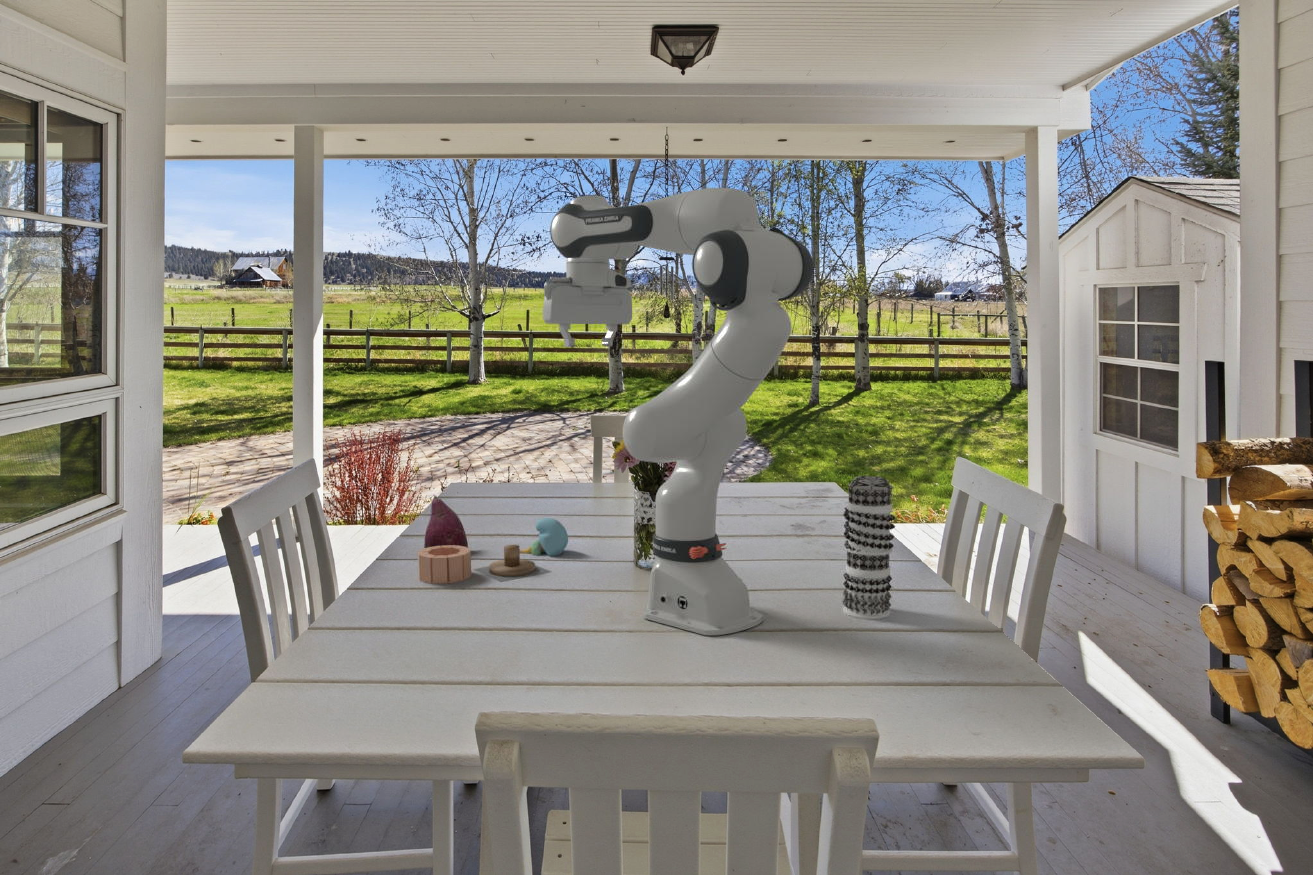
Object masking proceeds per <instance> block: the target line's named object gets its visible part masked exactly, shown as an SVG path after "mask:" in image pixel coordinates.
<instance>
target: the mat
mask: <svg viewBox="0 0 1313 875" xmlns="http://www.w3.org/2000/svg"><path fill="white" fill-rule="evenodd" d="M473 571H476V572H478V573H480V574H482V575H484V576H487V577H489V578H490V579H493V580H496V581H498V582H501V583H502V582H507V581H513V580H517V579H522V578H523V579H524V578H528V577H532V576H538V575H544V574H548V573H552V571H551V570H548V569H545V567H544V568H543V567H540V566H538V565H536V564H535V571H534V572H533V573H530V574H527V575H523V576H514V577H503V576H496V575H492V574H491V573H490V572H489V565H488V566H483V567H479V568H473Z"/></svg>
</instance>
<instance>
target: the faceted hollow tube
mask: <svg viewBox="0 0 1313 875" xmlns="http://www.w3.org/2000/svg"><path fill="white" fill-rule="evenodd" d="M417 577H418V579H419V581H420V582H424V583H429V584H451V583H457V582H462V581H466V580H467V579H469V578H471V577H472V551H471V549H470V548H469V547H468V548H467V547H464V546H458V545H457V546H456V545H442V546H434V547H428V548H422V549H420V550H418V551H417Z"/></svg>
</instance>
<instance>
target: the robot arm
mask: <svg viewBox="0 0 1313 875" xmlns="http://www.w3.org/2000/svg"><path fill="white" fill-rule="evenodd" d="M758 209H759V208H758V207H757V204H756V202H755V200H754V198H752V197H751V195H749V194H748V193H747V192H745V191H744V190H741V189H737V188H730V187H706V188H700V189H694V190H688V191H684V192H681V193H676V194H672V195H670V196H665V197H661V198H657V199H654V200H653V199H652V200H648V201H644V202H640V203H636V204H633V205H626V206H619V207H616V206H615V205H612V204H610V203H609V202H608V200H607V199H606V198H605V197H604V196H602V195H600V194H599V195H598V194H586V195H580V196H576V197H574V198H573V199H572V200H570V202H568V203H566V204H565V205H563V206H562V207H561V208H560V209H559V210H558V211H557V212H556V214H555V215H553V218H552V220H551V224H550V227H549V230H550V231H549V232H550V233H549V234H550V239H551V242H552V243H553V245H554V247H555V248H556V250H557V251H558V252H559V253H560V255H562V257H564V258H566V261H565V263H566V264H565V265H566V272H565V273H566V274H565V275H566V276H565V277H563V276H562V277H557V276H551V277H550V278H549V279H547V280H546V282H545V283H544V286H543V288H544V289H543V290H544V291H543V293H544V294H543V295H544V296H543V297H544V298H543V304H542V320H543V321H544V323H545V324H547V325H556V324H558V330H559V332H560V334H561V336H562V338H563V346H564V347H565V348H574V347H575V345H576V343H575V342H576V338H575V337H572V336H571V333H570V331H569V330H571V325H605V330H606V335H605V337H601V341H602V342H601V346H602V347H613V342H614V341H613V340H614V339H613V338H614V337H615V335H616V333H617V331H618V325H629V324H630V323H631V321H632V319H633V302H632V301H633V300H632V299H633V298H632V294H631V292H630V290H629V288H630V286H631V279H630V278H629V277H628V276H626V275H624V274H621V273H619V272H617V271H615V270H613V269H610V268H611V267H610V266H611V265H610V260H622V261H623V260H627V259H632V258H633V257H634V256H635V255H636V254H637V253H638V251H639V250H640V248H641V247H645V248H650V249H654V250H655V249H656V250H661V251H664V252H670V253H675V254H680V255H687V256H689V255H690V256H692V261H691V262H692V263H691V267H692V269H691V270H692V274H693V277H694V280H695V281H696V283H697V286H698V287H699V289H700V290H701V292H702V293H703V294H704V295H705V296H706V297H707V298H708V300H709V303H710V305H711V306H712V307H713V308H715V309H716V310H718V311H722V312H723V311H725V312H726V314H725V315H726V316H725V318H724V320H723V322H722V324H721V326H720V327H719V328H718V330H717V331H716V332H715V334H714V335H713V337H712V338H711V339H710V341H709V342H708V344H706V347H705V348H704V349H703V351H702V352H701V353H700V355H699V356H698V358H697V359H696V361H695V362H694V364H692V365H691V367H689V369H688V370H686V372H685V373H684V374H683V375H681V376H680V377H679V378H677V380H676V381H674V382H673V383H672V384H670V385H668V387H667V388H665V389H664V390H663V391H661V392H660V393H659V394H658V395H656V396H655V397H653V398H652V399H650V400H648V401H646V402H643V403H642V404H640V405H638V406H636V407H634V408H632V409H630V411H629V412H628V413H627V415H626V417H625V419H624V421H623V425H622V440H623V444H624V446H625V448H626V450H627V451H628V453H629V454H630V455H631V457H633V458H634V459H635V460H638V461H641V462H648V463H656V464H665V463H673V462H676V464H675V467H674V469H673V471H672V473H671V475H670V476H669V478H668V479H667V480H665V482H663V483H662V484H661V485H660V487H659V488H658V490H657V492H656V495H655V533H653V535H652V536H653V537H652V539H653V540H652V553H653V555H654V561H653V564H652V565H653V566H652V569H651V571H650V576H649V578H650V579H649V587H648V588H649V589H648V597H647V604H646V609H644V611H643V619H645V620H649V621H653V622H656V623H659V624H664V625H667V626H671V627H674V628H677V629H682V630H686V631H689V632H692V633H697V634H700V635H704V636H722V635H727V634H734V633H737V632H741V631H744V630H745V631H746V630H747V629H750V628H755V627H756V626H758V625H759V624H761V623H762V622H763V621H764V616H763V614H762V613H760V612H759V611H756V610H754V609H753V608H751V606H750V595H749V589H748V587H747V585H746V583H745V582H743V578H742V579H741V577H739V576H738V574H736V572H735V570H733V569H732V567H731V566H730V565H729V564H728V563H727V561H726V560H725V558H724V557H723V556H724V555H723V550H727V547H724V546H726V545H727V543H726V542H724V543H720V538H719V536H718V534H717V533H716V531H717V529H716V526H717V522H716V521H717V504H718V503H717V500H718V492H719V487H720V485H721V484H720V483H721V480H722V477H723V474H724V473H725V470H726V467H727V464H729V461H730V459H731V458H732V457H733V455H734V453H735V452H736V451H737V450H738V449H739V448H740V447H741V445H743V443H744V442H745V439H746V436H747V429H748V425H747V418H746V416H745V413H744V412H743V409H742V407H743V406H745V404H746V402H748V400H749V399H750V397H751V396H753V394H754V392H755V391H756V390H757V388H759V386H760V385H761V383H762V382H763V381H764V379H765V378H766V377H767V375H768V374H769V373H770V372H771V370H772V368H773V367H774V366H775V364H776V363H777V361H778V359H779V358H780V356H781V354H782V352H783V350H784V349H785V347H786V345H787V342H788V340H789V338H790V336H791V333H792V320H791V317H790V316H789V314H788V312H787V311H786V309H785V308H783V307H782V305H781V304H780V301H781V302H782V301H786V300H790V299H793V298H796V297H798V296H800V295H801V294H803V293H804V292H805V291H806V290H807V288H808V287H809V286H810V283H811V281H812V278H813V274H814V261H813V258H812V254H811V251H809V249H808V247H806V246H805V244H803V243H802V242H800V241H799V240H797V239H796V238H793V237H792V236H790V235H788V234H787V233H785V232H783V231H782V230H781V229H779V228H777V227H772V228H770V229H766V228H764V227H763V226H762V225H761V223H760V217H759V216H760V215H759V210H758Z"/></svg>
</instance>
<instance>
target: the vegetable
mask: <svg viewBox="0 0 1313 875" xmlns="http://www.w3.org/2000/svg"><path fill="white" fill-rule="evenodd" d="M430 509H431V511H430V512H431V513H430V517H429V521H428V523H427V526H426V529H425V535H424V545H423V547H424V548H428V547H434V546H442V545H456V546H457V545H458V546H464V547H467V548H469V545H468V544H469V542H468V538H467V533H466V531H465V528H464V525H463V523H462V521H461V519H460V517H459V516H458V514H457V513H456V512H455V511H454V510H453V509H452V508H451V507H449V505H447V504H446V503H445V502H444V501H443V500H442V499H441V498H440V497H437V495H434V496H433V498H432V501H431V508H430ZM424 548H423V549H424Z"/></svg>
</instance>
